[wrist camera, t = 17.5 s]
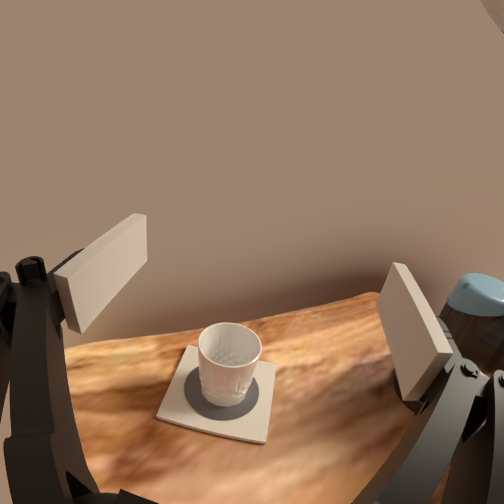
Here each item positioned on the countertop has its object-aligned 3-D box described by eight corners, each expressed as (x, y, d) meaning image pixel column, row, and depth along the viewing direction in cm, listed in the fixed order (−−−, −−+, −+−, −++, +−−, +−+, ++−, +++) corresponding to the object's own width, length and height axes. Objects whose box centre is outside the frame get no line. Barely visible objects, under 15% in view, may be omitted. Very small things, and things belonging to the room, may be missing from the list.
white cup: (238, 364, 44) (246, 317, 39) (259, 402, 38) (273, 358, 33) (190, 375, 41) (190, 327, 36) (207, 417, 34) (210, 373, 30)
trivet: (275, 366, 46) (276, 362, 45) (264, 444, 33) (266, 441, 32) (188, 347, 47) (188, 343, 46) (156, 418, 34) (155, 414, 33)
